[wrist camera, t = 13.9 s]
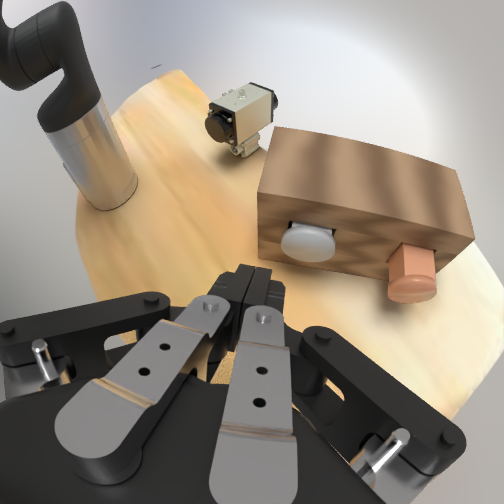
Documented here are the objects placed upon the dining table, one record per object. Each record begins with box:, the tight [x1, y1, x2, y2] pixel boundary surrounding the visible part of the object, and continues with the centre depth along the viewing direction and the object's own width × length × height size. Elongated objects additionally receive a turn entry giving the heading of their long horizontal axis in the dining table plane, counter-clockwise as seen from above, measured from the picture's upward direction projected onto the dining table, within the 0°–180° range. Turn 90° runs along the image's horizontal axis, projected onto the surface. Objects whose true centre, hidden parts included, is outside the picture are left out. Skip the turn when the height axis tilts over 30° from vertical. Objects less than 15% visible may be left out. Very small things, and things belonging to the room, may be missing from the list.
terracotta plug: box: [388, 242, 437, 303], centre depth 28 cm, size 6×11×6 cm, turn 168°
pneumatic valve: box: [205, 82, 278, 158], centre depth 40 cm, size 6×12×12 cm, turn 138°
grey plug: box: [281, 221, 335, 262], centre depth 31 cm, size 6×11×6 cm, turn 168°
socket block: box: [257, 126, 475, 281], centre depth 31 cm, size 23×10×13 cm, turn 78°
